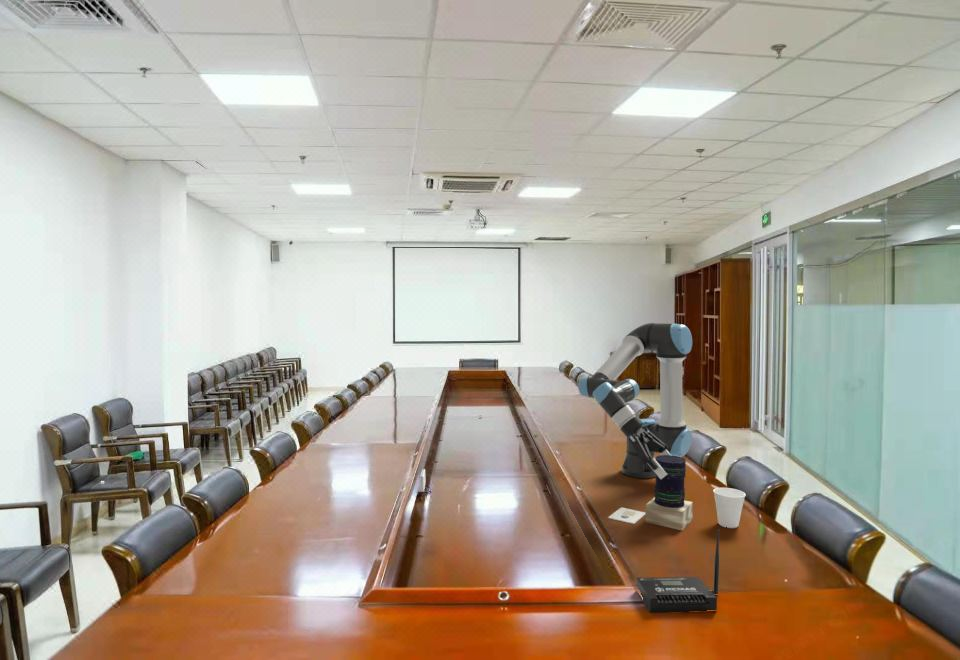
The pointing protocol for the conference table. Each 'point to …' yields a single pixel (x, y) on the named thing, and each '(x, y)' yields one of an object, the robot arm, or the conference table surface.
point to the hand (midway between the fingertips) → (670, 472)
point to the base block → (669, 515)
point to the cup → (729, 506)
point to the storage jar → (670, 482)
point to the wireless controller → (680, 592)
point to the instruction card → (627, 515)
